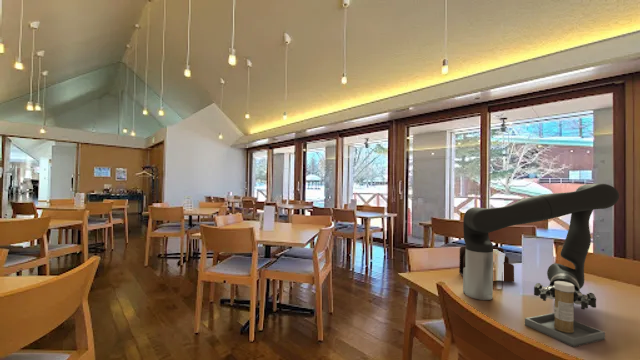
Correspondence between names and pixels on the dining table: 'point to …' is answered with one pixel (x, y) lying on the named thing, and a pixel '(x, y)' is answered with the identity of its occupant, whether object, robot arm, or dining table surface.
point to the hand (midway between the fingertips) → (563, 301)
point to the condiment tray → (578, 337)
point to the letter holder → (507, 266)
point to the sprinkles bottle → (564, 306)
